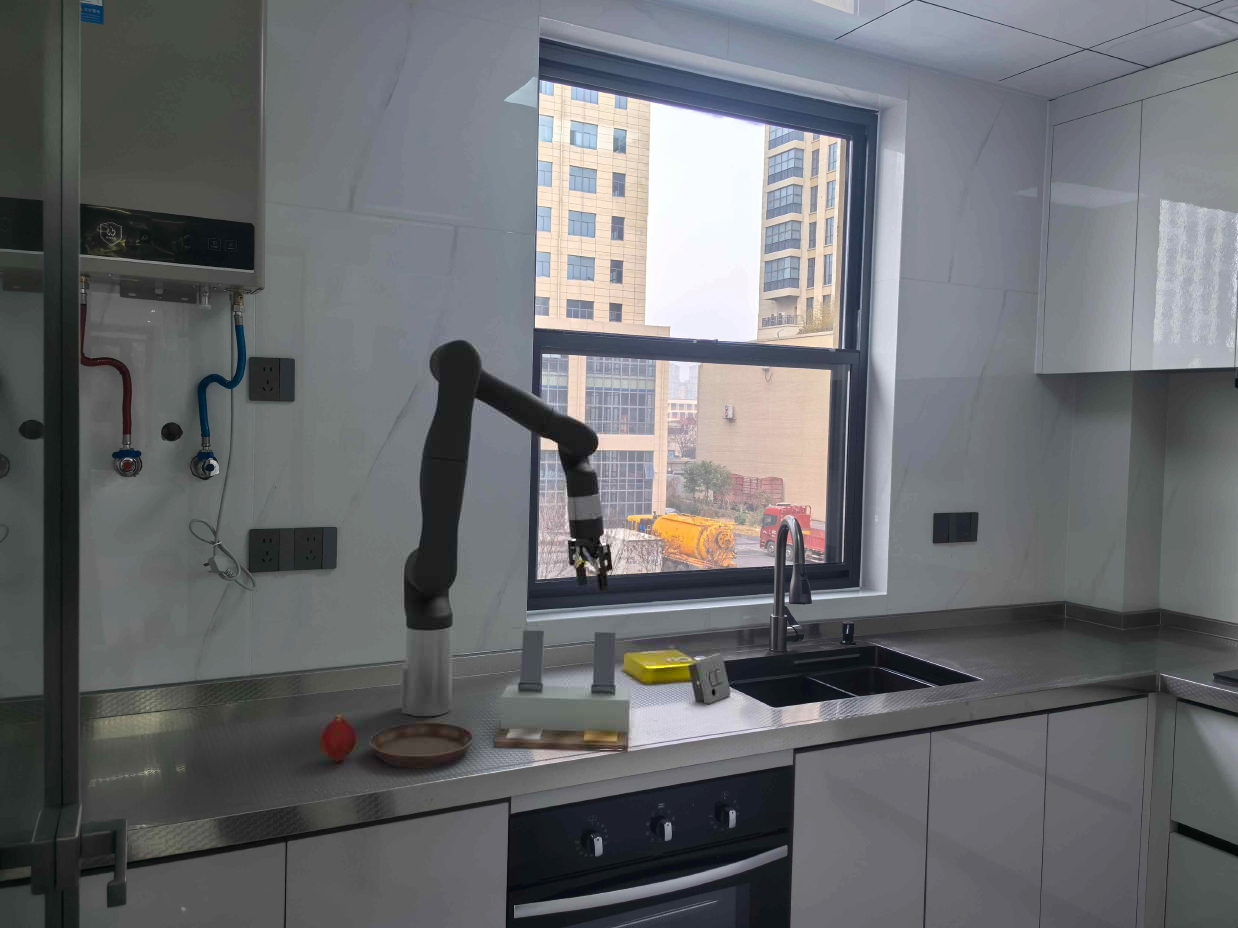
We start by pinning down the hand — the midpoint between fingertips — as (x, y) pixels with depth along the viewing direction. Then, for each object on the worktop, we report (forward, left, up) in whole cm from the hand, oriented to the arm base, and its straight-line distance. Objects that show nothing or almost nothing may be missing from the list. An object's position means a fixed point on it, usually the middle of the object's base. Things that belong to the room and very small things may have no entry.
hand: (592, 587), depth 189 cm
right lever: (+4, -26, -15) cm, 30 cm away
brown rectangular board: (-3, -28, -23) cm, 36 cm away
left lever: (-10, -26, -15) cm, 32 cm away
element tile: (+16, +16, -24) cm, 33 cm away
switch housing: (-3, -26, -22) cm, 34 cm away
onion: (-40, -46, -23) cm, 65 cm away
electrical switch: (+26, -3, -23) cm, 35 cm away
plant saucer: (-27, -41, -24) cm, 54 cm away
